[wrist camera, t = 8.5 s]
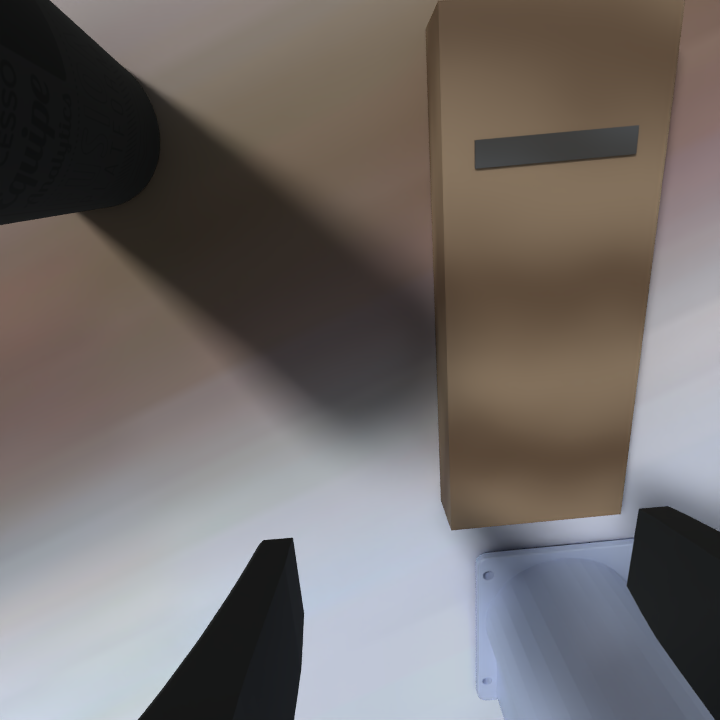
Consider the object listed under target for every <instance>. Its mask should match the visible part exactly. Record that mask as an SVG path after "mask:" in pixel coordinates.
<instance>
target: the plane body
mask: <svg viewBox="0 0 720 720" xmlns="http://www.w3.org/2000/svg"><path fill="white" fill-rule="evenodd" d="M684 5H685V0H443V1H438V3H437V5H436V7H435V10H434V12H433V14H432V16H431V18H430V21H429V23H428V25H427V27H426V56H427V87H428V117H429V148H430V179H431V210H432V240H433V271H434V302H435V332H436V363H437V394H438V425H439V455H440V486H441V502H442V505H443V508H444V510H445V513H446V516H447V519H448V522H449V525H450V528H451V530H460V529H470V528H481V527H491V526H502V525H512V524H522V523H533V522H543V521H553V520H564V519H574V518H584V517H595V516H605V515H616V514H621V507H622V499H623V491H624V483H625V475H626V467H627V459H628V451H629V443H630V435H631V427H632V419H633V411H634V403H635V395H636V387H637V379H638V371H639V363H640V355H641V347H642V340H643V332H644V324H645V316H646V308H647V300H648V292H649V284H650V276H651V268H652V260H653V252H654V244H655V236H656V228H657V220H658V212H659V204H660V196H661V188H662V180H663V172H664V164H665V156H666V148H667V140H668V132H669V124H670V116H671V109H672V101H673V93H674V85H675V77H676V69H677V61H678V53H679V45H680V37H681V29H682V21H683V13H684Z"/></svg>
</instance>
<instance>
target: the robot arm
mask: <svg viewBox="0 0 720 720" xmlns="http://www.w3.org/2000/svg"><path fill="white" fill-rule="evenodd" d="M487 571H490V572H488V573H485V572H487ZM303 625H304V610H303V603H302V596H301V590H300V583H299V576H298V569H297V563H296V556H295V549H294V542H293V538H284V539H272V540H263V541H262V542H261V543H260V544H259V546H258V547H257V549H256V551H255V553H254V554H253V556H252V558H251V559H250V561H249V563H248V564H247V566H246V568H245V569H244V571H243V573H242V574H241V576H240V578H239V579H238V581H237V582H236V584H235V586H234V587H233V589H232V590H231V592H230V594H229V595H228V597H227V598H226V600H225V601H224V603H223V604H222V606H221V607H220V609H219V610H218V612H217V613H216V615H215V616H214V618H213V619H212V621H211V622H210V624H209V625H208V627H207V628H206V630H205V631H204V633H203V634H202V636H201V637H200V638H199V640H198V641H197V643H196V644H195V645H194V647H193V648H192V650H191V651H190V652H189V654H188V655H187V656H186V658H185V659H184V660H183V662H182V663H181V664H180V666H179V667H178V669H177V670H176V671H175V673H174V674H173V675H172V677H171V678H170V679H169V681H168V682H167V683H166V685H165V686H164V687H163V689H162V690H161V691H160V693H159V694H158V695H157V696H156V698H155V699H154V700H153V702H152V703H151V704H150V705H149V707H148V708H147V709H146V710H145V712H144V713H143V714H142V715H141V717H140V718H139V719H138V720H294V716H295V709H296V702H297V695H298V688H299V681H300V674H301V664H302V646H303ZM476 691H477V694H478V697H479V698H480V699H482V700H495V699H498V701H499V704H500V708H501V711H502V714H503V717H504V720H720V532H719V531H717V530H715V529H713V528H711V527H709V526H707V525H705V524H703V523H701V522H699V521H697V520H695V519H694V518H692V517H690V516H687V515H685V514H683V513H681V512H679V511H677V510H675V509H673V508H671V507H668V506H666V507H654V508H642V509H639V512H638V518H637V524H636V530H635V536H634V539H625V540H614V541H604V542H594V543H583V544H573V545H563V546H552V547H542V548H532V549H521V550H511V551H501V552H490V553H484V554H481V555H480V556H478V558H477V559H476Z"/></svg>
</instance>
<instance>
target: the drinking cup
mask: <svg viewBox="0 0 720 720" xmlns="http://www.w3.org/2000/svg"><path fill="white" fill-rule="evenodd" d="M159 149H160V137H159V128H158V124H157V119H156V116H155V113H154V110H153V108H152V105H151V103H150V101H149V99H148V97H147V95H146V94H145V92H144V90H143V89H142V88H141V86H140V85H139V83H138V82H137V81H136V80H135V79H134V77H133V76H132V75H131V74H130V73H129V72H128V71H127V70H126V69H125V68H124V67H122V66H121V65H120V64H119V63H118V62H117V61H116V60H115V59H114V58H113V57H111V56H110V55H109V54H108V53H107V52H106V51H105V50H104V49H103V48H102V47H100V46H99V45H98V44H97V43H96V42H95V41H94V40H93V39H92V38H91V37H89V36H88V35H87V34H86V33H85V32H84V31H83V30H82V29H81V28H80V27H78V26H77V25H76V24H75V23H74V22H73V21H72V20H71V19H70V18H69V17H67V16H66V15H65V14H64V13H63V12H62V11H61V10H60V9H59V8H58V7H56V6H55V5H54V4H53V3H52V2H51V1H50V0H0V225H3V224H9V223H15V222H21V221H27V220H33V219H39V218H45V217H51V216H57V215H63V214H69V213H75V212H81V211H87V210H93V209H100V208H106V207H112V206H116V205H119V204H122V203H124V202H126V201H128V200H130V199H132V198H133V197H135V196H136V195H137V194H138V193H140V192H141V191H142V190H143V189H144V188H145V186H146V185H147V184H148V182H149V181H150V179H151V177H152V175H153V173H154V171H155V168H156V165H157V161H158V157H159Z"/></svg>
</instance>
